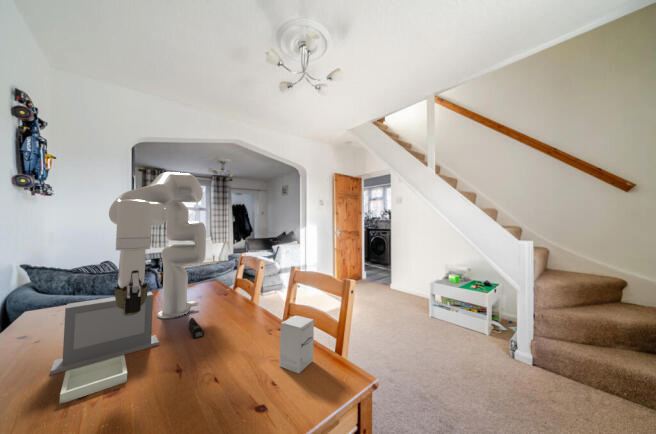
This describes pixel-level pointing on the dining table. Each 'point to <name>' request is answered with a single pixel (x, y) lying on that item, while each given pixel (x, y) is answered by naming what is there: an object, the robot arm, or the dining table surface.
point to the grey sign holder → (103, 332)
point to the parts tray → (93, 378)
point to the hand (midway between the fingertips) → (131, 308)
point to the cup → (122, 294)
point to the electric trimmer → (195, 329)
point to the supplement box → (296, 343)
